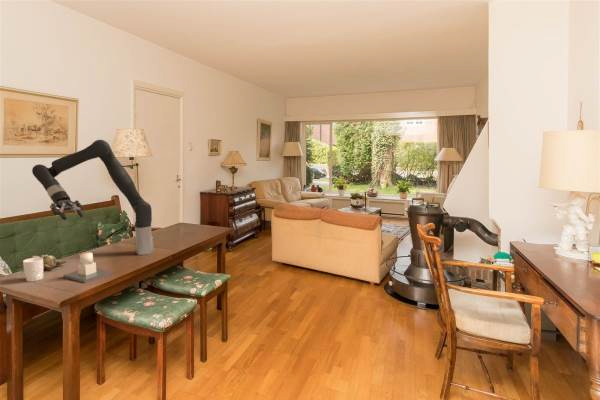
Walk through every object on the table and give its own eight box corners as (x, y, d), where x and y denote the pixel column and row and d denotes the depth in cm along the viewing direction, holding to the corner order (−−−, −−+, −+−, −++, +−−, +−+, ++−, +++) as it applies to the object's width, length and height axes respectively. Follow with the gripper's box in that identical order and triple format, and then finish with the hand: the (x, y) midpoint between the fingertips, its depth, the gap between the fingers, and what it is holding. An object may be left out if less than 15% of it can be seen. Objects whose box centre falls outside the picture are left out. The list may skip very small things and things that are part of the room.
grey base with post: (90, 269, 182) (89, 258, 181) (111, 273, 176) (110, 262, 175) (63, 277, 169) (62, 266, 168) (85, 282, 163) (84, 270, 162)
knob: (89, 270, 176) (87, 251, 174) (96, 272, 174) (95, 252, 172) (78, 273, 171) (76, 254, 169) (85, 275, 168) (84, 255, 167)
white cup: (28, 277, 169) (26, 258, 168) (47, 275, 172) (45, 256, 171) (21, 282, 162) (19, 262, 161) (41, 281, 165) (39, 261, 163)
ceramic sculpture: (39, 249, 187) (67, 251, 188) (39, 264, 188) (67, 266, 189) (24, 255, 176) (54, 257, 177) (25, 271, 177) (54, 273, 178)
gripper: (46, 191, 173) (62, 215, 170) (74, 189, 186) (90, 211, 183) (41, 201, 175) (57, 224, 172) (69, 198, 188) (84, 219, 185)
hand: (74, 217), depth 177 cm, fingers open, 8 cm apart
